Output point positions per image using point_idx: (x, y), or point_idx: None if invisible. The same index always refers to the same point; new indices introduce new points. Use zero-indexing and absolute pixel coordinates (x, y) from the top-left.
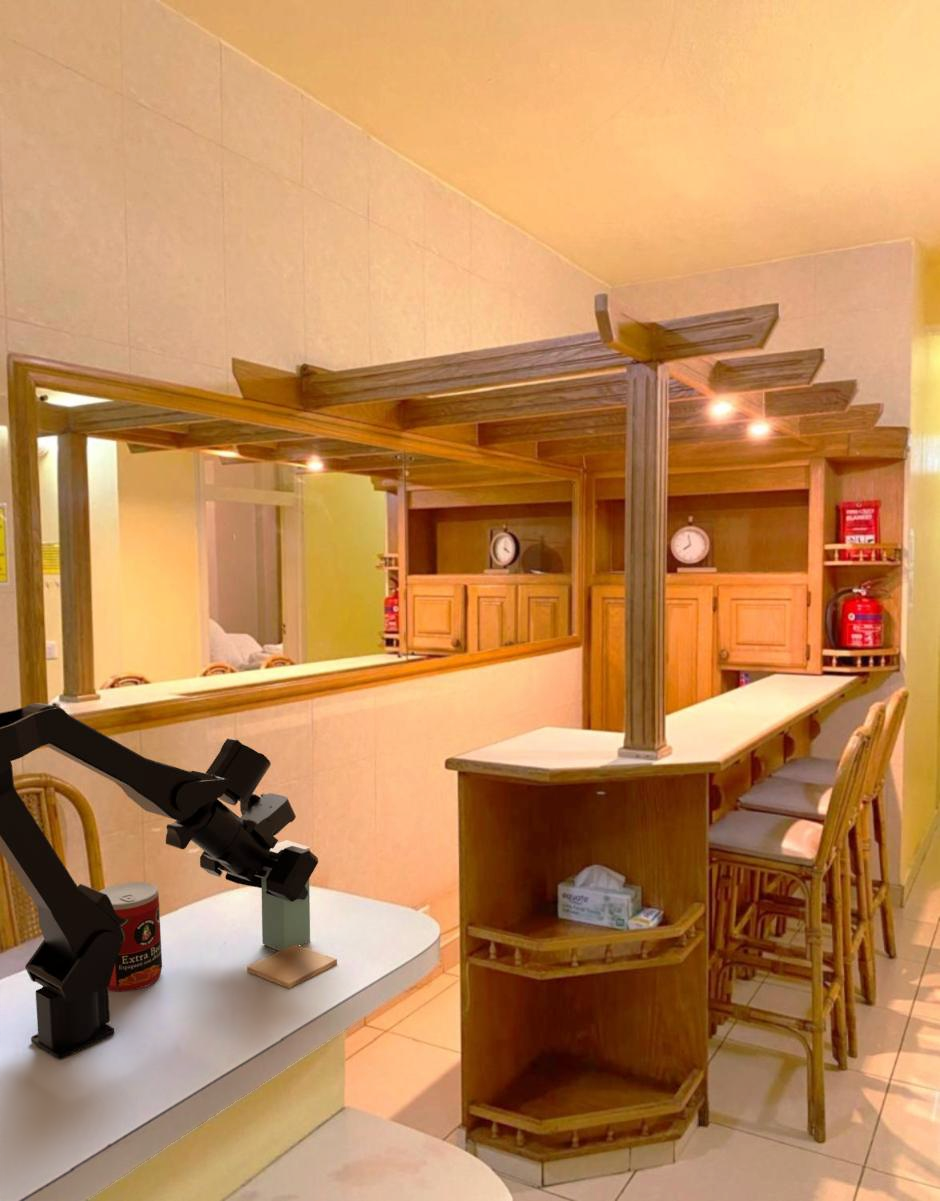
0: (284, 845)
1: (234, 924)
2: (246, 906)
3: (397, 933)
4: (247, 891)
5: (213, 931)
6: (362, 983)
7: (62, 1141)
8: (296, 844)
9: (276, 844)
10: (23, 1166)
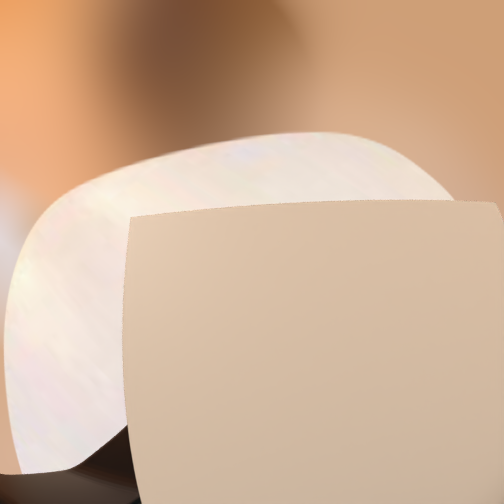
0: (301, 388)
1: (95, 379)
2: (54, 301)
3: (398, 196)
4: (24, 256)
5: (93, 426)
6: None
7: None
8: (380, 232)
9: (159, 441)
10: None
